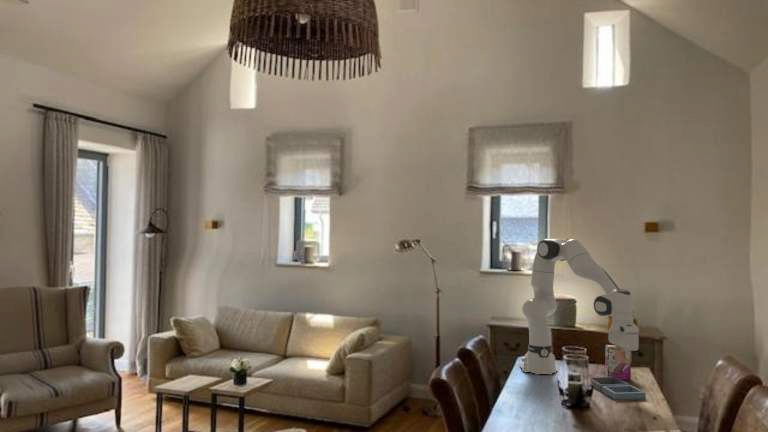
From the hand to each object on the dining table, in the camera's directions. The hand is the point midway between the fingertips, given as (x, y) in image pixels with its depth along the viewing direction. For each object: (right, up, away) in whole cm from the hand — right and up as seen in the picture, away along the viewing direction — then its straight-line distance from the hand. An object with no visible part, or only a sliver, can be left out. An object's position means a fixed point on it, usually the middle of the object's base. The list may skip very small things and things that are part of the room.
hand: (623, 357), depth 259 cm
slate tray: (0, -17, 0) cm, 17 cm away
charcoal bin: (-1, -18, +14) cm, 23 cm away
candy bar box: (+9, -18, +29) cm, 35 cm away
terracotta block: (0, -2, 0) cm, 2 cm away
